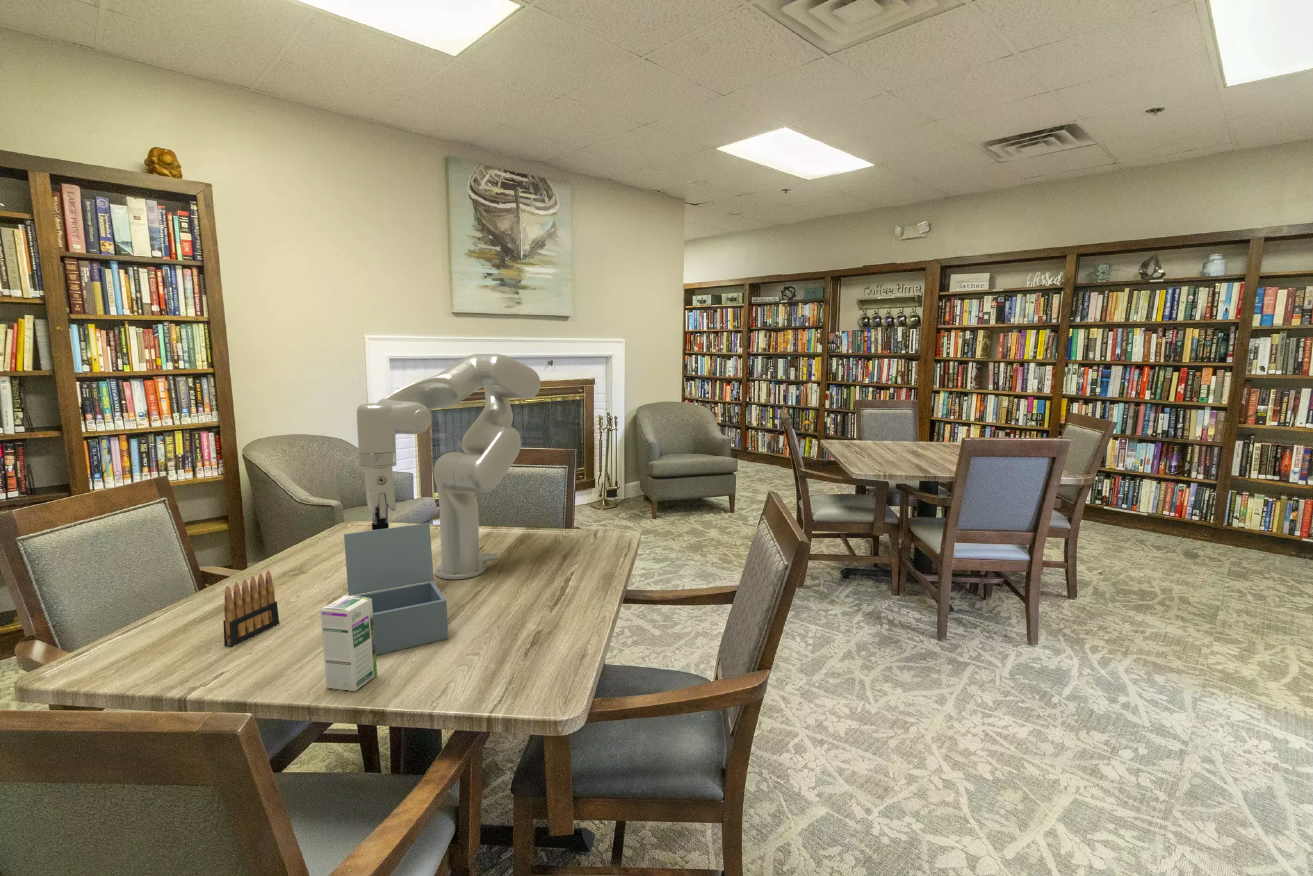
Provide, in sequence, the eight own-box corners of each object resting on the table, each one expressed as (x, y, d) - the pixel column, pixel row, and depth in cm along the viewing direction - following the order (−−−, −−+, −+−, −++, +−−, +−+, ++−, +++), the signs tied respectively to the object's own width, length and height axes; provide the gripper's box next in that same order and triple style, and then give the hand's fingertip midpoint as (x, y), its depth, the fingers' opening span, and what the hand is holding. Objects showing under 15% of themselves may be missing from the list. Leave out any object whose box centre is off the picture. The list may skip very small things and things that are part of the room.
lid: (433, 580, 128) (432, 579, 129) (429, 523, 128) (428, 523, 129) (348, 595, 120) (348, 595, 120) (344, 534, 120) (343, 534, 121)
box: (434, 616, 129) (433, 581, 128) (447, 638, 119) (446, 600, 118) (352, 633, 120) (350, 596, 119) (359, 659, 110) (356, 618, 109)
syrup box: (355, 693, 99) (350, 610, 97) (324, 688, 100) (319, 607, 98) (377, 675, 105) (373, 597, 103) (348, 671, 106) (343, 594, 104)
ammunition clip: (272, 622, 125) (268, 568, 123) (279, 624, 125) (275, 569, 123) (224, 646, 115) (218, 586, 113) (231, 647, 114) (226, 587, 113)
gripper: (401, 463, 127) (404, 546, 129) (390, 453, 139) (393, 530, 141) (363, 465, 123) (366, 551, 125) (355, 456, 135) (358, 534, 137)
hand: (380, 540), depth 133 cm, fingers closed
